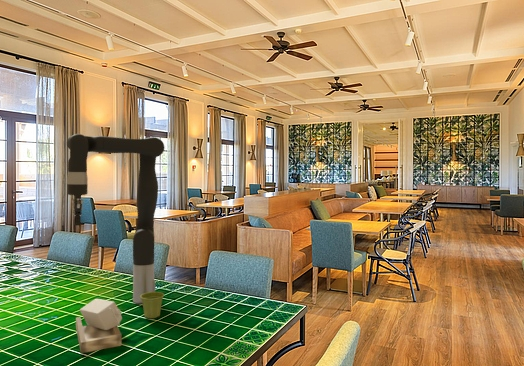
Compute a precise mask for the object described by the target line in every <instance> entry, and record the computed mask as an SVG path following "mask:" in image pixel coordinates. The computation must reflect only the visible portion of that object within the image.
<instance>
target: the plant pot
mask: <svg viewBox="0 0 524 366" xmlns="http://www.w3.org/2000/svg"><path fill="white" fill-rule="evenodd" d="M164 296H165V293H163V292H160V291H155V292H148V293H144V294H142V295H141V296H140V297H141V299H142V302H143V303H142V307H143V315H144V318H146V319H147V318H148V319H157V318H158V317H160V316H161V309H162V303H163V298H164Z"/></svg>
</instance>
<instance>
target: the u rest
mask: <svg viewBox="0 0 524 366" xmlns="http://www.w3.org/2000/svg"><path fill="white" fill-rule="evenodd" d="M118 326H119V325H118ZM118 326H115V327H113V328H110V329H108V330H104V329H100V328H97V327H93V326H90V325H83V323H82V318H81V316H78V317H75V328H76V329H75V330H76V334H77V340H78V344H79V350H80V354H85V353H90V352H95V351H99V350H103V349H104V350H105V349H111V348H115V347H120V346H122V336H123V335H122V333H121V331H120V329H119V327H118Z"/></svg>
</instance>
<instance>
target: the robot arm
mask: <svg viewBox="0 0 524 366" xmlns="http://www.w3.org/2000/svg"><path fill="white" fill-rule="evenodd" d="M66 146H67V148H68V149H69V159H68V161H67V162H68V163H67V171H68V172H67V178H66V179H67V183H66V185H67V186H66V187H67V190H66V191H67V192H66V194H67V195H68V196H73V199H71V203H72V211H73V212H72V213H73V217H74V220H73V221H74V222H73V223H74V226H81V216H82V211H83V204H84V199H83V198H82V196H86V195H88V179H89V178H88V173H87V172H88V164H87V162H88V156H89V153H99V154H100V153H101V154H139V171H138V178H137V180H138V181H137V188H136V189H137V191H136V210H137V218H136V219H137V220H136V226H135V232H134V235H133V238H132V259H133V260H132V302H133V303H134V304H143V302H142V299H141V297H140V296H141V295H142V294H144V293H148V292H156V280H155V231H154V230H155V228H154V227H155V226H154V220H155V219H154V218H155V213H156V208H157V204H158V196H159V183H158V178H157V173H156V164H157V163H156V162H157V161H156V160H157V158H158V157H160V156H161V155H162V154H163V153H164V152H165V143H164V142H163V141H162V140H161V139H160V138H158V137H156V136H151V137H145V138H124V137H116V136H103V135H102V136H101V135H95V136H90V135H89V136H87V135H83V134H81V133H75V134H73V135H70V136H69V137H68V139H67V141H66Z"/></svg>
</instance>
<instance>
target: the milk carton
mask: <svg viewBox="0 0 524 366" xmlns="http://www.w3.org/2000/svg"><path fill="white" fill-rule="evenodd" d="M79 312H80V313H81V315H82V317H83V319H84V322H85V323H86V324H87V325H86V326H88V325H90V326H93V327H97V328H100V329H104V330H108V329H110V328H113V327H115V326H121V324H120V323H121V321H122V320H123V317H122V314H121V313H122V311H121V309H120V308H118V306H117V304H116V302H115V301H113V300H112V301H111V300H106V299H100V298H95V299H93V300H91V301H90V302H88V303H87V304H86V305H84V306H83V307H81V308H80V309H79Z"/></svg>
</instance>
